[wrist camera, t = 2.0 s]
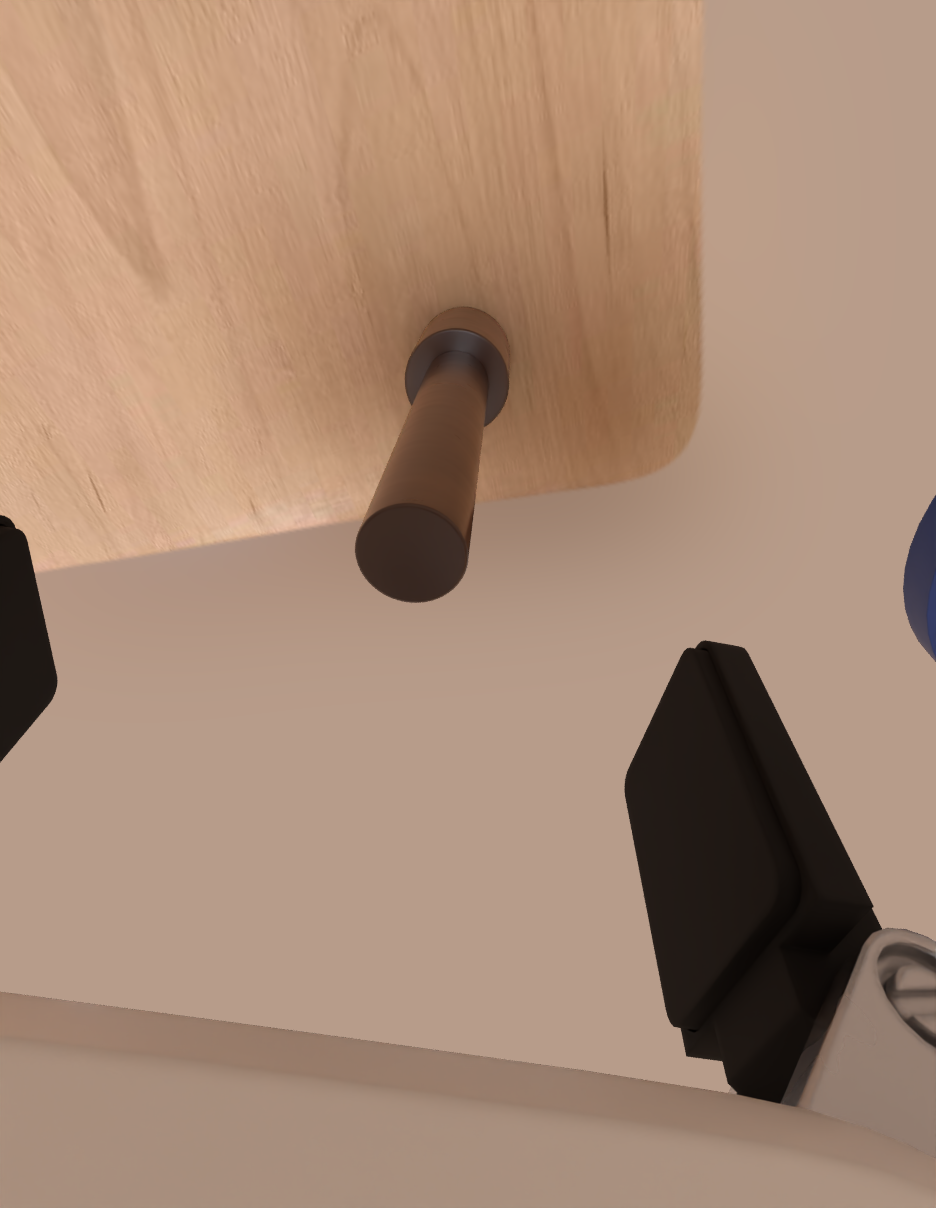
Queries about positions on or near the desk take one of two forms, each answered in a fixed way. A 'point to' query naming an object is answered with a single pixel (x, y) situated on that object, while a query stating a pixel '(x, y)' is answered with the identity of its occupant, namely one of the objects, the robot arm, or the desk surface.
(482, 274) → the desk surface
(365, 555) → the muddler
